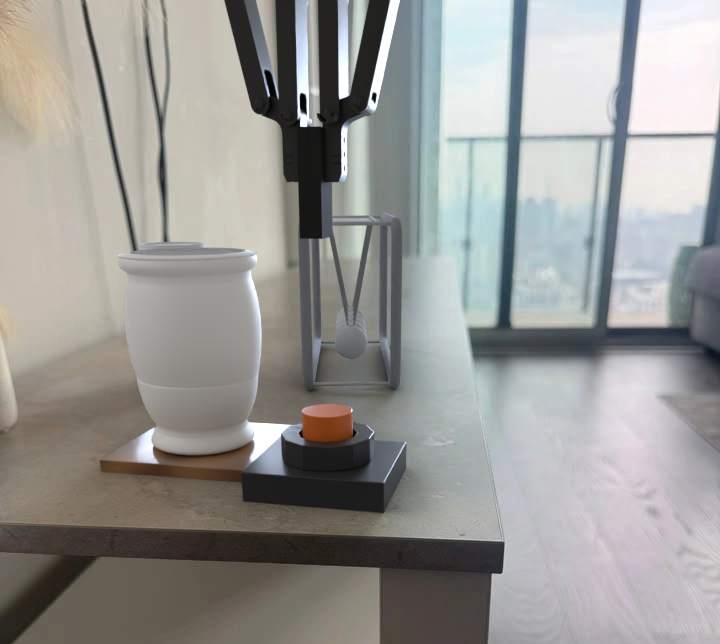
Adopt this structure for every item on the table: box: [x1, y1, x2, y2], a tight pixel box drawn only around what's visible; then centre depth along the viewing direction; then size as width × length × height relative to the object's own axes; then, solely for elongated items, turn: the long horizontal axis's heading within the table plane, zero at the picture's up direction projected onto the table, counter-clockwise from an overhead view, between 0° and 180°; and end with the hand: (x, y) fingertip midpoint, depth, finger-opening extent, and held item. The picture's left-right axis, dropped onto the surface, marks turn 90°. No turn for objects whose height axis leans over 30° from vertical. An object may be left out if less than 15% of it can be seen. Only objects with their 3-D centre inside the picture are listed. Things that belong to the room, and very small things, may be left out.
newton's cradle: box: [297, 212, 403, 391], centre depth 91 cm, size 30×10×18 cm, turn 1°
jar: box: [117, 247, 263, 455], centre depth 59 cm, size 11×10×15 cm
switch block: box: [241, 421, 407, 514], centre depth 54 cm, size 10×9×4 cm
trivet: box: [99, 422, 293, 483], centre depth 62 cm, size 12×12×1 cm
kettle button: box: [301, 403, 354, 442], centre depth 53 cm, size 4×4×2 cm
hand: (316, 237), depth 49 cm, fingers closed
